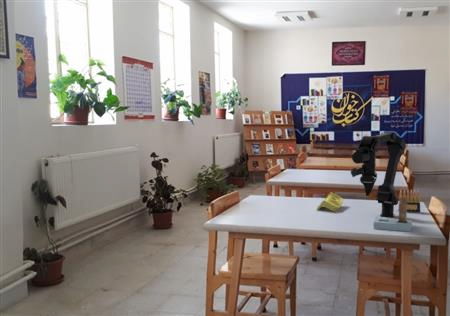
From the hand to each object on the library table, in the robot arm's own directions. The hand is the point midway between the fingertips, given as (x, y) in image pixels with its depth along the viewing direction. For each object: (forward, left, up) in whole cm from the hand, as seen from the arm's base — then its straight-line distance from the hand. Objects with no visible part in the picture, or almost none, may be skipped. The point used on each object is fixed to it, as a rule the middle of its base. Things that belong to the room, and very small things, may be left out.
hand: (368, 194), depth 236 cm
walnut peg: (+10, +16, -13) cm, 23 cm away
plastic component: (-26, -22, -14) cm, 37 cm away
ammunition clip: (-31, +18, -13) cm, 38 cm away
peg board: (+10, +12, -13) cm, 20 cm away
